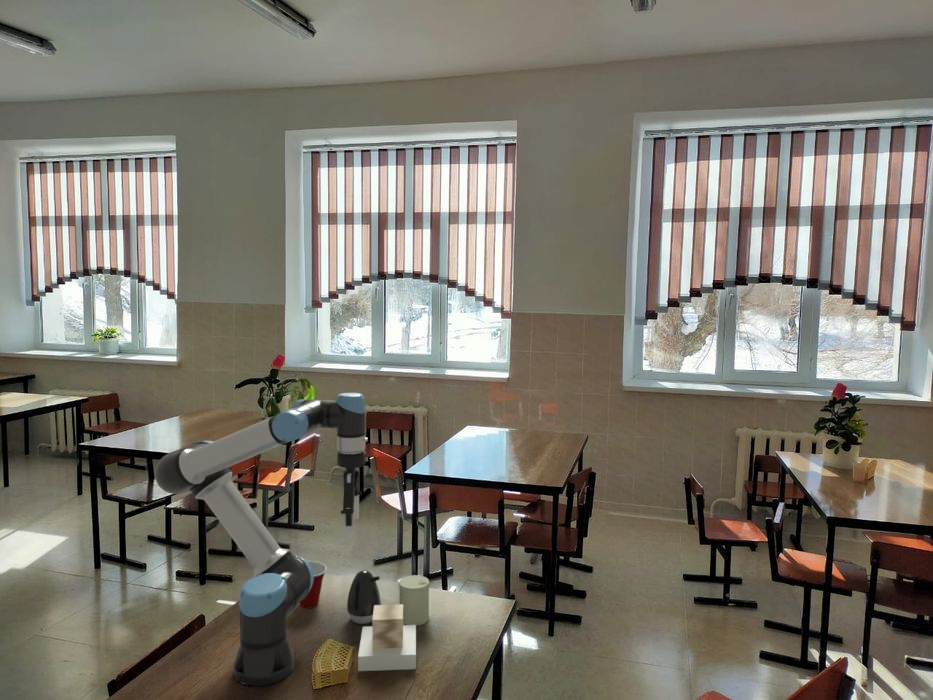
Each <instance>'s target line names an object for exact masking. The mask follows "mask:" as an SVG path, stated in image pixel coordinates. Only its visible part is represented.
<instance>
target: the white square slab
mask: <svg viewBox="0 0 933 700" xmlns="http://www.w3.org/2000/svg"><path fill="white" fill-rule="evenodd" d="M416 660H417V626H416V625H405V624H403V648H379V649H372V625H371V626H362V630H361V635H360V642H359V648H358V655H357V671H358V672H370V671H373V672H374V671H375V672H376V671H377V672H378V671H398V670H399V671H403V670H416V668H417V661H416Z"/></svg>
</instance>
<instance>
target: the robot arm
mask: <svg viewBox="0 0 933 700" xmlns="http://www.w3.org/2000/svg"><path fill="white" fill-rule="evenodd" d="M366 413H367V410H366V398H365V396H364V394H362V393H359V392H343V393H339V394H337V396H336V399H335V400H330V399H329V400H327V399H325V400H324V399H312V398H307V399H304V398H303V399H302V398H301V399H297V400H296V401H295V402H294V403H293V404H292V407H291V408H288V409H285V410H283V411H280V413H277V414H275V415H273V416H270V417H268V418H266V419H263V420H261V421H259V422H257V423H254V424H251V425H249V426H247V427H245V428H242V429H240V430H237V431H235V432H233V433H231V434H229V435H226V436H224V437H222V438H218V439H216V440H215V441H212V440H201V441H195V442H192V443H191V444H189V445H186V446H184V447H182V448H178V449H176V450H173V451H169V452H168V453H166V454H165V455H164V456H162V457H161V458H160V459H159V461H158V463H156V466H155V469H154V479H155V481H156V484H157V485H158V486H159V488H160V489H161V490H162V491H164V492H166V493H167V494H171V495H181V494H184V493H188V492H190V493H191V494H192V495H193V497H194V498H195V499H197V500H203V501H204V502H205V503H206V505H207V506H208V508H209V509H210V510H211V511H212V513H213V514H214V515H215V517H216V518H217V520H218V521H219V523H220V524H221V525H222V526H223V528H224V529H225V531H226V532H227V534H228V535H229V536H230V537H231V539H232V541H234V542H235V544H236V545H237V546H238V548H239V549H240V551H241V552H242V554H243V556H244V557H245V558H246V559H247V560H248V562H249V563H250V565H251V566H252V567H253V569H254V571H253V577H251V578H249V579H248V580H245V582H244V583H243V584H242V586H241V588H240V591H239V596H238V597H239V598H238V608H239V609H238V611H239V615H238V616H239V638H240V639H239V643H240V644H239V647H238V650H237V653H236V656H235V659H234V663H233V677H235V678H236V679H235V678H234V679H235V680H236V681H237V680H238V681H239V682H242V683H245V684H248V685H253V686H252V687H262V686H263V687H264V686H267V685H273V684H275V683H277V682H279V681H281V680H283V679H285V678H286V677H288V676H289V675H290V674H291V673H292V671H293V670H294V668H295V654H294V652H293V649H292V646H291V644H290V641H289V639H288V631H287V630H288V625H287V623H288V616H289V614H290V613H291V612H293V610H294V609H295V608H296V607H297V606H298V605H299V604H300V603H299V602H300V601H302V600H303V599H304V598H305V597H306V596H307V594H308V592H309V591H310V589H311V587H312V585H313V580H314V574H313V570H312V567H311V566H310V564H309V563H308V561H309V560H307V559H305V558H304V557H302V556H301V557H300V556H298V555H294V554H293V553H292V552H291V550H290V549H288V548H282V547H281V546H280V545H279V544H278V543H277V541H276V540H275V538H274V537H273V535H272V534H271V533H270V532H269V530H268V528H267V527H266V526H265V525H264V523H263V522H262V521H261V520H260V517H258V515H257V514H256V512H254V510H253V509H252V507H251V505H250V504H249V503H248V502H247V500H246V499H245V497H244V496H243V495H242V493H241V491H239V490H238V488H237V487H236V485H235V484H234V482H233V481H232V478H233V477H232V476H233V471H232V470H231V469H230V467H232V466H235V465H237V464H238V463H242V462H244V461H246V460H248V459H251V458H254V457H256V456H258V455H261V454H262V453H265V452H268V451H269V450H272V449H275V448H278V447H279V446H281V445H284V444H286V443H289V442H293V441H296V440H298V439H301V438H302V437H304V436H305V435H307V434H309V433H311V432H313V431H315V430H317V429H336V449H337V453H336V459H337V460H336V461H337V462H336V464H337V466H338V467H339V468H344V469H345V470H344V473H342V474H343V477H342V478H343V501H342V510H340V514H341V515H343V538H355V520H360V496H361V495H362V490H360V489H361V488H360V470H359V468H361V467H364V466H365V465H366V451H365V449H366V442H368V437H366ZM238 681H237V682H238ZM239 682H238V683H239ZM248 685H247V686H248Z"/></svg>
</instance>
